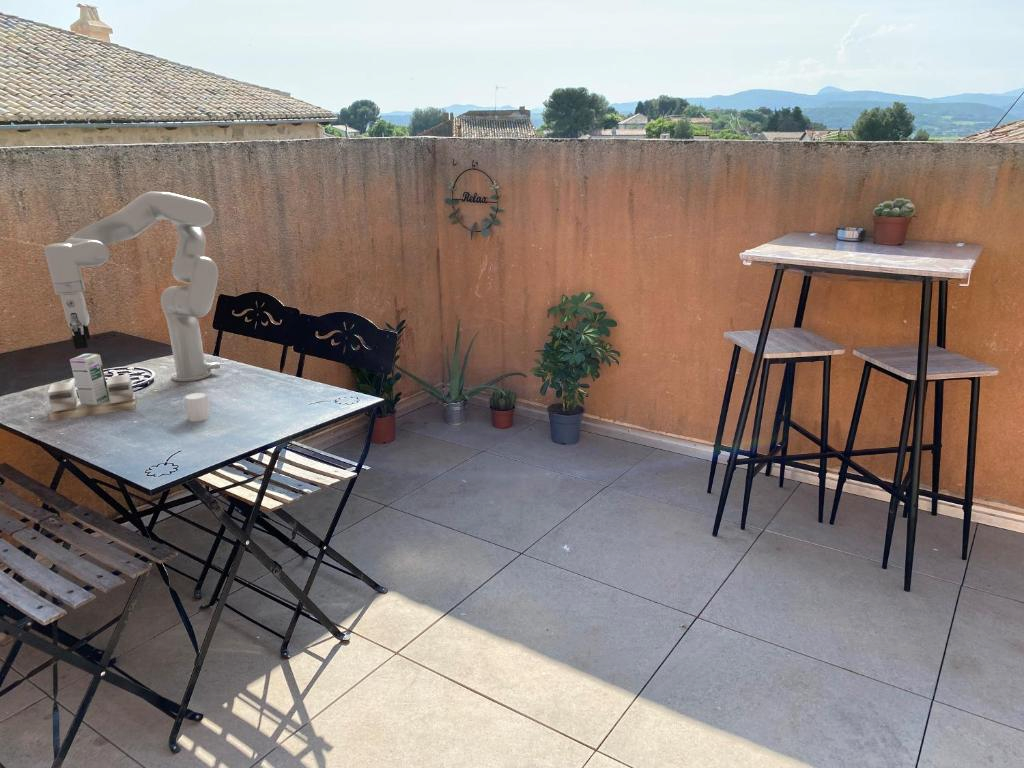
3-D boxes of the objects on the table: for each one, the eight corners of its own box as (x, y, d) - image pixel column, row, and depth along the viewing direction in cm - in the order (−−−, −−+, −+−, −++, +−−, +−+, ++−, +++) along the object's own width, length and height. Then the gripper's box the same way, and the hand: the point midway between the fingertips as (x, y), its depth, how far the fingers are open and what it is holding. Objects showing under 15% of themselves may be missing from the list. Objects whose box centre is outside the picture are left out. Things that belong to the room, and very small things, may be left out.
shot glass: (204, 411, 205) (201, 390, 203) (216, 417, 201) (212, 395, 199) (182, 418, 200) (178, 396, 198) (193, 424, 196) (189, 401, 194)
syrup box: (96, 405, 205) (86, 359, 200) (79, 404, 206) (68, 358, 201) (110, 398, 210) (100, 353, 205) (93, 397, 211) (83, 352, 206)
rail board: (136, 396, 218) (131, 372, 215) (135, 408, 208) (130, 383, 205) (55, 407, 209) (49, 382, 206) (50, 420, 198) (44, 395, 196)
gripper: (81, 291, 190) (95, 349, 196) (86, 280, 205) (99, 334, 211) (50, 294, 187) (65, 353, 193) (57, 282, 202) (71, 338, 208)
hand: (83, 343), depth 202 cm, fingers open, 9 cm apart
